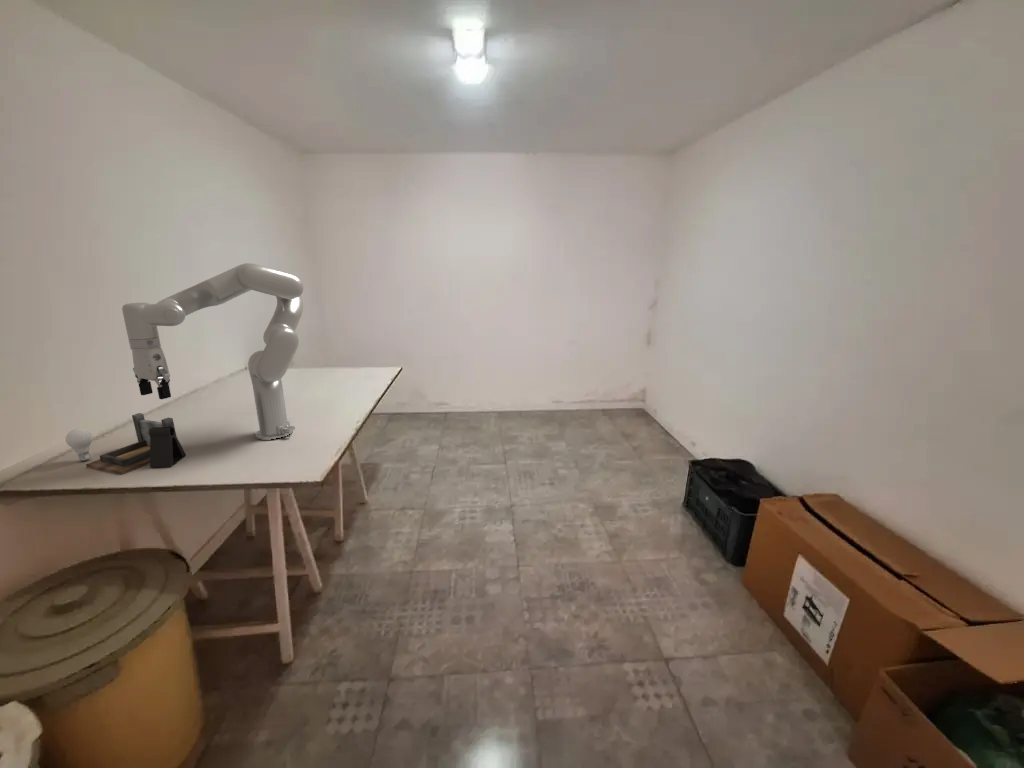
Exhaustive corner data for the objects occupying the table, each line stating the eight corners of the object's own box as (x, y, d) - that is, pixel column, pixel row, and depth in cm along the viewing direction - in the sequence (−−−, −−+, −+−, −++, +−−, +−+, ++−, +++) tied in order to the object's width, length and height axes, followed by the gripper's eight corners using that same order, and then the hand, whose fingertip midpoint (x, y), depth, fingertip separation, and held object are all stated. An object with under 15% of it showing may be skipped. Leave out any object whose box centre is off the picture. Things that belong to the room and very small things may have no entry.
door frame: (179, 451, 160) (172, 418, 157) (121, 474, 143) (112, 438, 140) (146, 445, 165) (139, 413, 162) (86, 467, 148) (77, 431, 145)
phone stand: (170, 467, 148) (162, 432, 144) (149, 468, 147) (141, 433, 144) (186, 455, 156) (179, 422, 153) (167, 456, 156) (159, 423, 152)
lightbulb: (71, 460, 153) (62, 429, 150) (97, 454, 157) (88, 424, 154) (72, 466, 148) (63, 434, 145) (98, 460, 153) (90, 429, 150)
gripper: (175, 343, 144) (185, 396, 149) (142, 339, 151) (152, 389, 156) (148, 348, 138) (159, 403, 142) (115, 343, 145) (127, 395, 149)
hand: (156, 396), depth 149 cm, fingers open, 9 cm apart
